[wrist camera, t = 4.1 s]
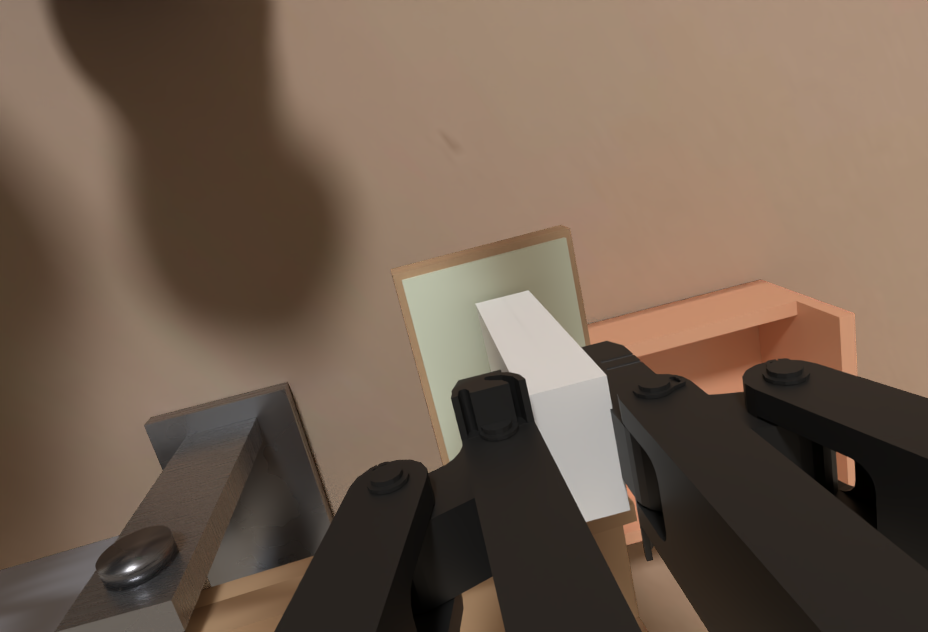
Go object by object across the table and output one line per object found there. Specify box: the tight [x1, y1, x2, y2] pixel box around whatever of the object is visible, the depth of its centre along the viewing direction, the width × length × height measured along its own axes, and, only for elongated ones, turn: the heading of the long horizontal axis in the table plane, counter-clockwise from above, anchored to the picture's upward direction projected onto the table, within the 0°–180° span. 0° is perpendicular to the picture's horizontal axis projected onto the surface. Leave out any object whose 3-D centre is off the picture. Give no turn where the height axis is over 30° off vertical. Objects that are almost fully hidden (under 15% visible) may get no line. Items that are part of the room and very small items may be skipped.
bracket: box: [54, 382, 333, 632], centre depth 23 cm, size 6×11×12 cm, turn 13°
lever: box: [0, 225, 648, 632], centre depth 20 cm, size 22×14×8 cm, turn 103°
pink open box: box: [587, 280, 857, 545], centre depth 27 cm, size 10×9×6 cm
